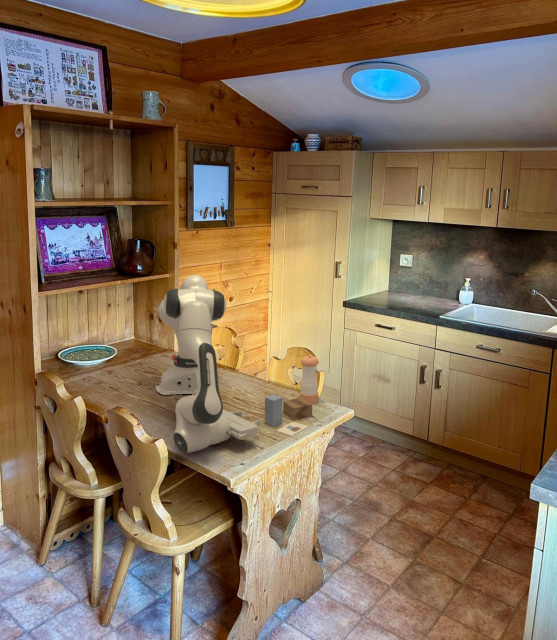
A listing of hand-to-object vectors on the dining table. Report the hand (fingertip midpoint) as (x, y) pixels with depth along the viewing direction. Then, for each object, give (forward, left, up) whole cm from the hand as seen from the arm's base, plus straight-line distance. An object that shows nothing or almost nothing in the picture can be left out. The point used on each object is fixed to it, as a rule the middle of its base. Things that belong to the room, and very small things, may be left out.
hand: (249, 417), depth 214 cm
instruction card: (+15, -2, -5) cm, 16 cm away
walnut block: (+21, +10, -6) cm, 24 cm away
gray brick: (+10, +5, -5) cm, 13 cm away
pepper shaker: (+30, +22, -6) cm, 38 cm away
